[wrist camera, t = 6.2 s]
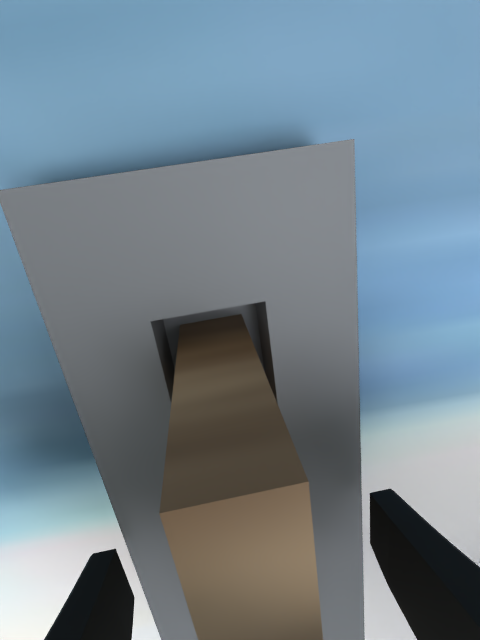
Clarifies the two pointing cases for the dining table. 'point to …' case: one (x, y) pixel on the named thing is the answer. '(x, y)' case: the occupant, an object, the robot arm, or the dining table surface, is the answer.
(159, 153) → the dining table surface
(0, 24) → the dining table surface
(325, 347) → the panel with rectangular hole
